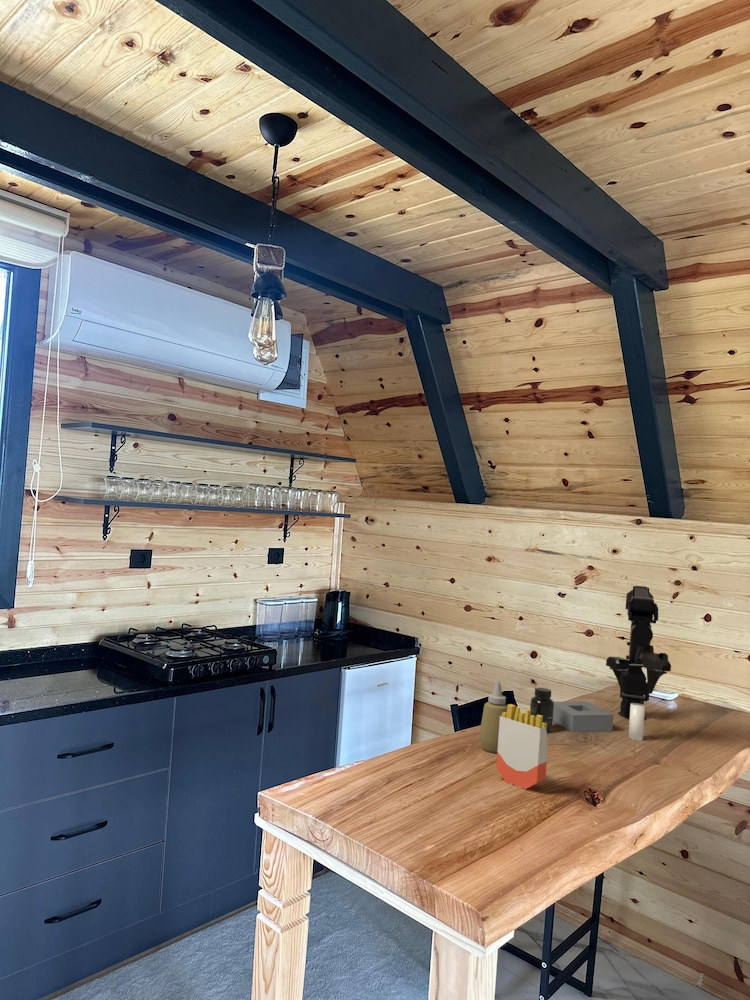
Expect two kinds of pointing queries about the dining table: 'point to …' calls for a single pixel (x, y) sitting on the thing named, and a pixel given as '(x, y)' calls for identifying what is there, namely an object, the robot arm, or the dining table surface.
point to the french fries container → (522, 747)
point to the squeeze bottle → (492, 719)
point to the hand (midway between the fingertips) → (636, 693)
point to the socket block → (582, 717)
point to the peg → (636, 721)
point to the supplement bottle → (543, 706)
